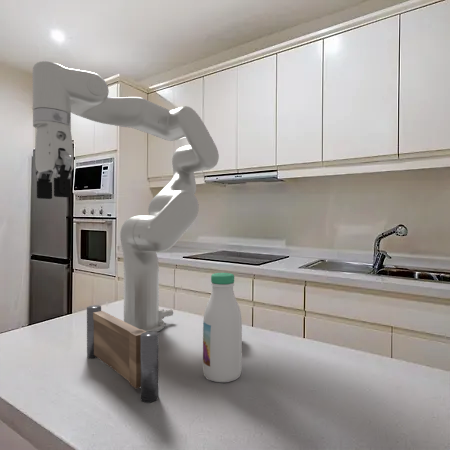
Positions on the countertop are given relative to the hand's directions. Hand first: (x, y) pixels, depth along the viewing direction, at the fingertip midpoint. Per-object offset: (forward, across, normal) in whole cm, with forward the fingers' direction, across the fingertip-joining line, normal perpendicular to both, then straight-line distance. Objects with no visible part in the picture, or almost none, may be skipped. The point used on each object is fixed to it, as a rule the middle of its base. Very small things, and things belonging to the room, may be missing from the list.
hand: (52, 197), depth 73 cm
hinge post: (+36, -8, -5) cm, 37 cm away
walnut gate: (+35, -19, -4) cm, 40 cm away
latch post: (+36, -32, -4) cm, 48 cm away
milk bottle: (+36, -35, -18) cm, 53 cm away
